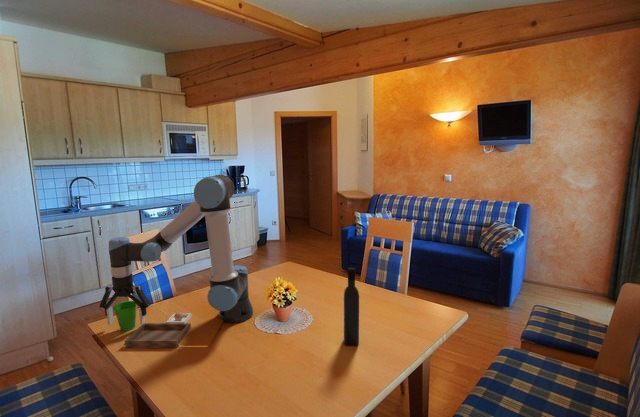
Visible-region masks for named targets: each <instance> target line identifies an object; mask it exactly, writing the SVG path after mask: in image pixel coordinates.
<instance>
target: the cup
mask: <svg viewBox="0 0 640 417" xmlns="http://www.w3.org/2000/svg"><path fill="white" fill-rule="evenodd" d="M137 307H138V305H137V304H136V303H135V302H134V301H133V300H125V301H121V302H118V303H115V304H114V305H113V306H112V309H113V311H114V312H115V315H116V319H117V323H118V326H119V328H120V331H121V332H128V331H132V330H134V329H135V328H136V318H137Z"/></svg>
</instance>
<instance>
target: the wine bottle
mask: <svg viewBox="0 0 640 417" xmlns="http://www.w3.org/2000/svg"><path fill="white" fill-rule="evenodd" d="M346 274H347V286H346V287H345V288H344V291H343V344H344V345H345V344H346V345H345V346H358V345H360V344H359V343H360V342H359V341H360V294H359V292H360V291H359V289H358V287H356V268H355V267H347V273H346Z"/></svg>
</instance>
